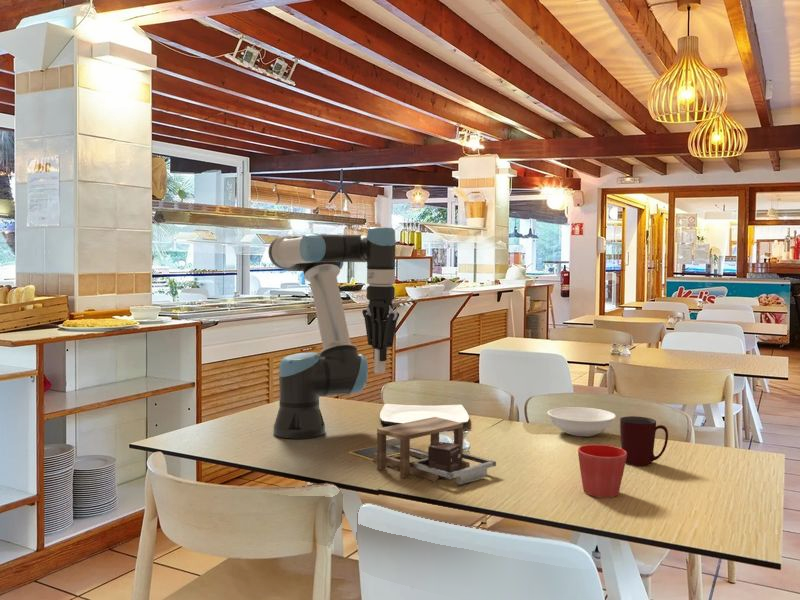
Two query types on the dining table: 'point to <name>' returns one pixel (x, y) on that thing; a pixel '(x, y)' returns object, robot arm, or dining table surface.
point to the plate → (422, 413)
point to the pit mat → (368, 452)
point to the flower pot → (601, 469)
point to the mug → (640, 439)
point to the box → (444, 457)
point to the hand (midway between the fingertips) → (379, 372)
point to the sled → (462, 475)
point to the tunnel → (409, 432)
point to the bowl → (581, 420)
